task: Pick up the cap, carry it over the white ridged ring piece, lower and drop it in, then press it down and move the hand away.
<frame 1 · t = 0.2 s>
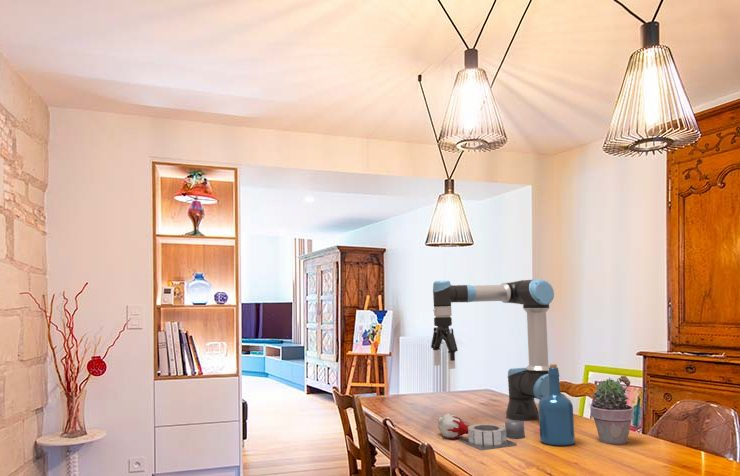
hand: (444, 367, 242), 28 cm above the table, fingers open, 13 cm apart
cap: (515, 436, 232), on the table
potted plant: (611, 442, 221), on the table
white ridged ring piece: (487, 443, 222), on the table
candle: (453, 438, 233), on the table
wine bottle: (557, 442, 221), on the table
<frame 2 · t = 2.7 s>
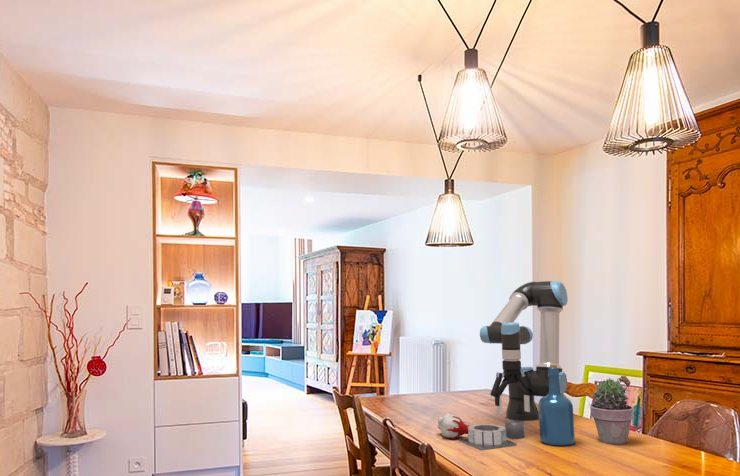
hand: (513, 412, 233), 10 cm above the table, fingers open, 13 cm apart
nothing on the table moved.
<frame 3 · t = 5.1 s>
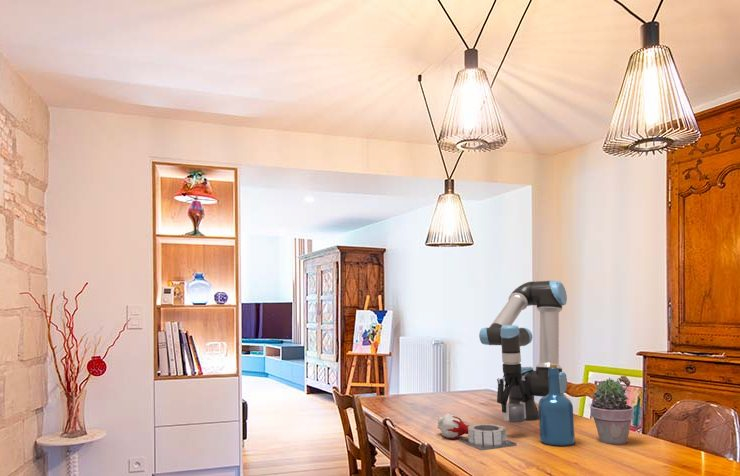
hand: (515, 419, 233), 7 cm above the table, fingers closed on cap, 8 cm apart
cap: (515, 420, 233), point 6 cm above the table, touching gripper
everything else where it was.
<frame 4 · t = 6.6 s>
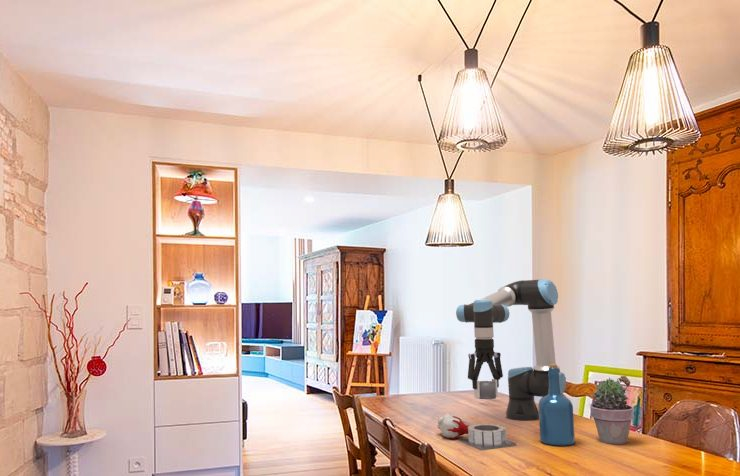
hand: (486, 396, 225), 18 cm above the table, fingers closed on cap, 8 cm apart
cap: (486, 397, 224), point 17 cm above the table, touching gripper
everything else where it was.
when the fingers open (7 cm above the table, at t = 8.3 s): cap drops 6 cm, resting on white ridged ring piece.
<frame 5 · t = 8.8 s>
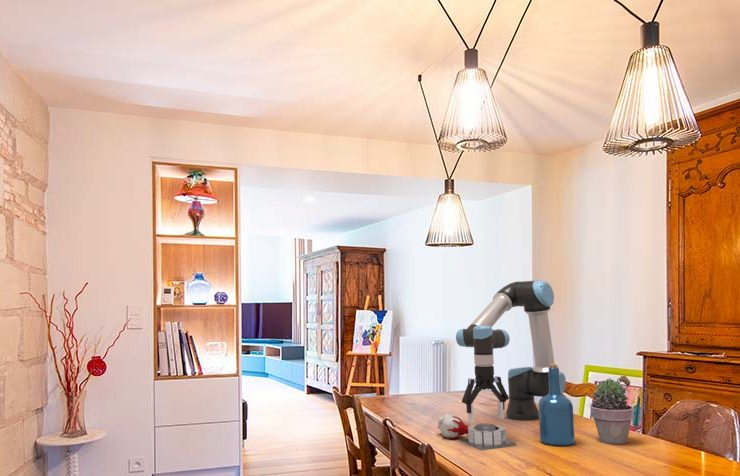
hand: (486, 420, 223), 9 cm above the table, fingers open, 13 cm apart
cap: (486, 441, 222), point 1 cm above the table, touching white ridged ring piece
everything else where it was.
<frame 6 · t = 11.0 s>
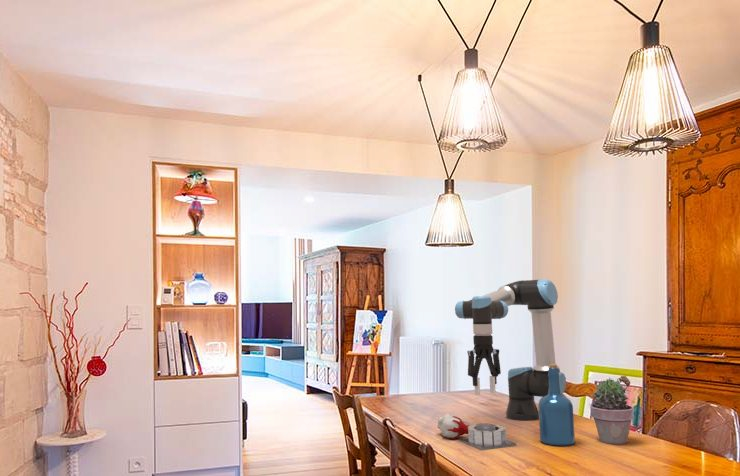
hand: (485, 393, 225), 19 cm above the table, fingers open, 6 cm apart
nothing on the table moved.
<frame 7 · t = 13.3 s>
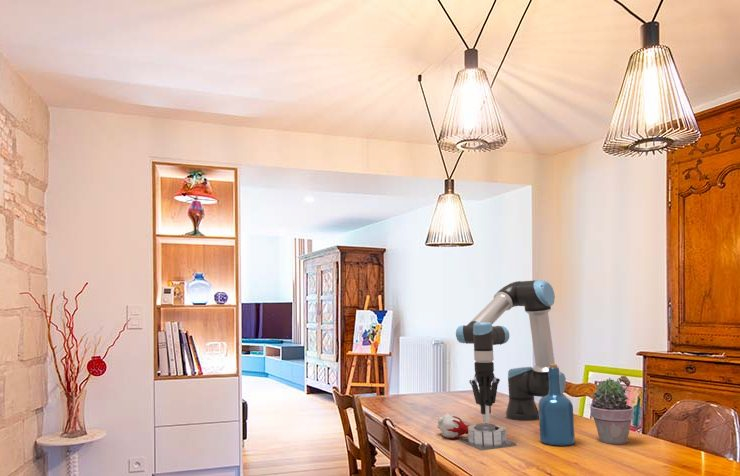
hand: (486, 422, 223), 8 cm above the table, fingers closed
nothing on the table moved.
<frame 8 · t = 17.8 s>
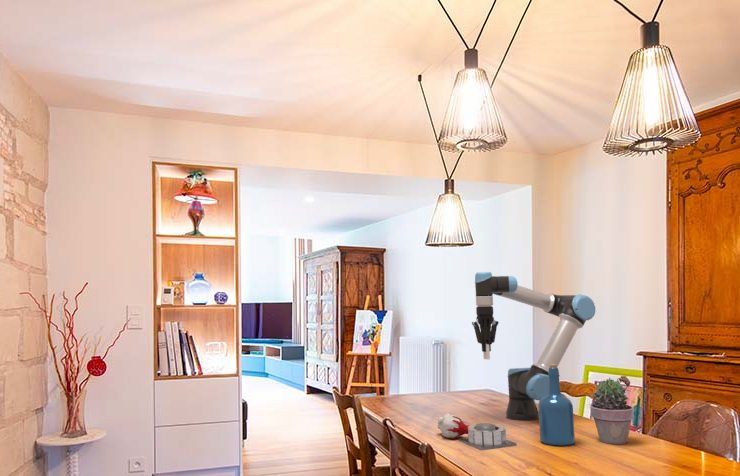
hand: (486, 359, 254), 29 cm above the table, fingers closed
nothing on the table moved.
at the end: cap 0.5 cm from the white ridged ring piece (horizontally); cap point 0.8 cm above the table; cap tilted 1° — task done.
